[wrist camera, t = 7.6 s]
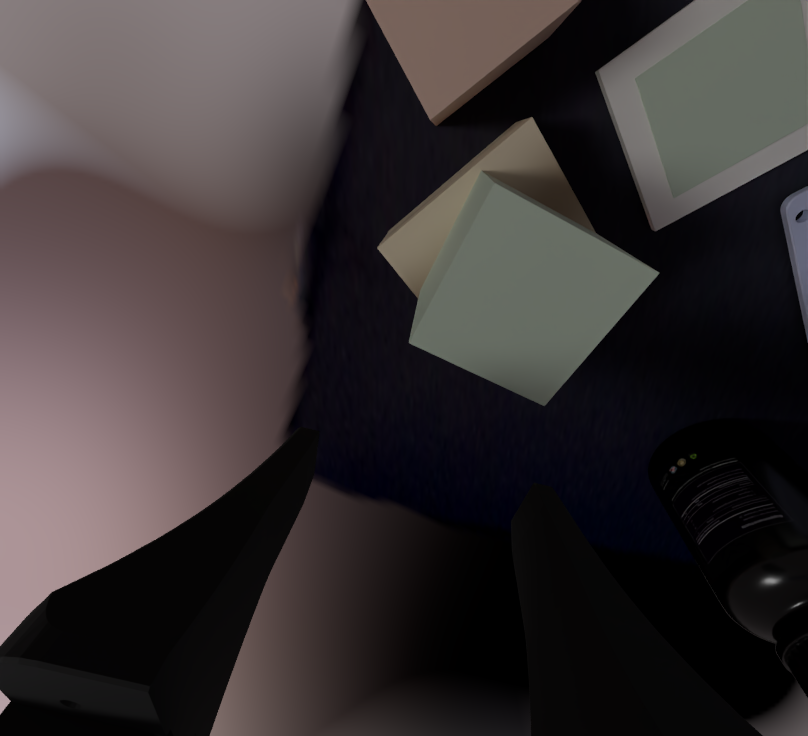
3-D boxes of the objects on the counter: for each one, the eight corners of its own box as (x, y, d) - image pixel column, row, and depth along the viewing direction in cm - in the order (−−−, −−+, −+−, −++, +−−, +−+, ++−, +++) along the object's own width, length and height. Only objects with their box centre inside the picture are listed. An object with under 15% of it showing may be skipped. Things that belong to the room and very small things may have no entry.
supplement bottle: (795, 447, 22) (1086, 705, 12) (697, 509, 26) (859, 750, 16) (710, 397, 21) (949, 633, 11) (619, 468, 25) (738, 699, 14)
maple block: (590, 254, 18) (621, 280, 15) (470, 331, 21) (473, 367, 18) (515, 122, 16) (532, 116, 12) (390, 228, 19) (377, 247, 15)
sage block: (596, 233, 14) (659, 272, 10) (520, 338, 17) (544, 405, 12) (481, 170, 13) (495, 182, 9) (420, 289, 16) (408, 342, 12)
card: (842, 126, 15) (854, 126, 14) (651, 229, 17) (656, 231, 17) (815, -88, 12) (829, -97, 11) (595, 72, 14) (599, 70, 14)
